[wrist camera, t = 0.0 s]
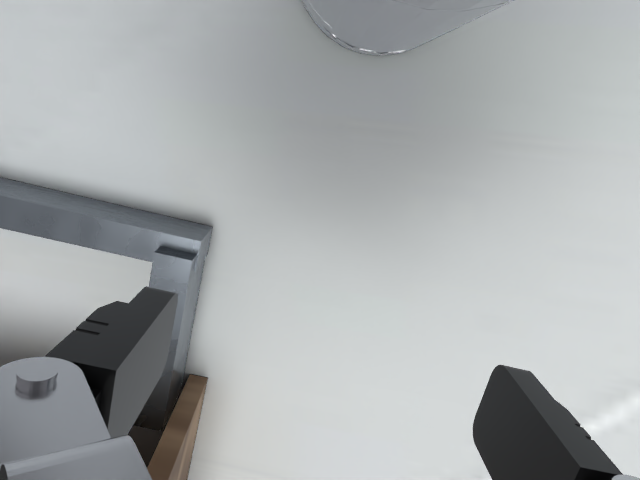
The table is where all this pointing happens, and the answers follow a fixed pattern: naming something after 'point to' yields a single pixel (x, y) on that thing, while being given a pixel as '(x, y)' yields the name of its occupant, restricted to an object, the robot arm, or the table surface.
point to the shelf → (179, 434)
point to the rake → (128, 240)
